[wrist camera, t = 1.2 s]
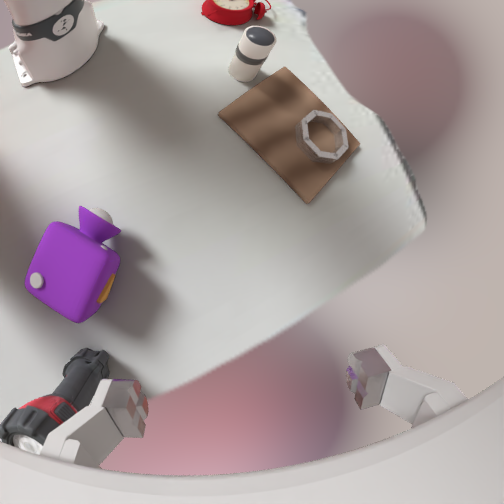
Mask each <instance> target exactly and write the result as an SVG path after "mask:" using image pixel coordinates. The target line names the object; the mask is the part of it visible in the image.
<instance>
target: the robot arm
mask: <svg viewBox="0 0 504 504" xmlns="http://www.w3.org/2000/svg"><path fill="white" fill-rule="evenodd" d="M4 2H5V4H6V6H7V8H8V10H9V12H10V14H11V16H12V18H13V20H12V24H13V29H14V31H13V33H14V37H15V41H14V43H12V44H11V45H10V46H9V50H10V52H11V54H12V56H13V60H14V63H15V66H16V70H17V73H18V76H19V79H20V82H21V84H22V86H24V87H25V86H29V85H31V84H34V83H36V82H49V81H54V80H57V79H60V78H63V77H65V76H67V75H69V74H71V73H73V72H74V71H76V70H77V69H79V68H80V67H81V66H82V65H83V64H85V63H86V62H87V61H88V60H89V58H90V57H91V56H92V55H93V53H94V52H95V50H96V48H97V45H98V37H99V34H100V33H101V31H102V30H103V28H104V24H103V22H102V21H100V20H97V19H96V17H95V14H94V10H93V6H92V3H91V2H88V1H85V0H4ZM25 76H26V77H25ZM348 363H349V364H350V366H349V367H348V368H347V370H346V381H347V385H348V387H349V389H350V391H351V392H353V393H355V401H356V402H357V404H358V406H359V408H360V409H361V410H362V409H366V408H369V407H372V406H376V405H379V404H380V406H382V407H384V408H385V409H387V410H389V411H391V412H392V413H394V414H395V415H397V416H399V417H401V418H402V419H404V420H405V421H407V422H409V423H411V424H412V427H411V429H410V430H407V431H404V432H402V433H400V434H397V435H395V436H392V437H389V438H387V439H384V440H382V441H379V442H376V443H373V444H370V445H367V446H365V447H361V448H358V449H355V450H352V451H349V452H345V453H342V454H338V455H335V456H331V457H327V458H323V459H319V460H315V461H311V462H306V463H301V464H297V465H292V466H286V467H281V468H275V469H268V470H261V471H253V472H245V473H233V474H220V475H198V476H197V475H194V476H177V475H174V476H173V475H151V474H138V473H127V472H119V471H111V470H105V469H102V468H101V467H100V466H99V465H100V464H101V463H102V462H103V461H104V459H105V458H106V457H107V456H108V455H109V454H110V453H111V452H112V451H113V450H114V448H115V447H116V446H117V445H118V444H119V443H120V442H121V441H122V440H123V437H133V438H143V436H144V431H145V423H144V421H143V420H144V419H145V418H147V416H148V402H147V399H146V396H145V395H144V394H143V393H142V392H140V390H141V385H140V383H139V381H138V380H126V379H102V380H101V381H100V383H99V385H98V388H97V390H96V393H95V395H94V397H93V400H92V402H91V405H90V406H86V407H85V408H83V409H82V410H81V411H79V412H78V413H76V414H75V415H74V416H72V417H71V418H70V419H68V420H67V421H65V422H64V423H63V424H61V425H60V426H59V427H57V428H56V429H54V430H53V431H52V432H50V433H49V434H48V436H47V438H46V440H45V443H44V445H43V447H42V450H41V452H40V455H38V454H35V453H31V452H28V451H25V450H22V449H19V448H17V447H14V446H11V445H8V444H6V443H3V442H1V441H0V504H504V377H503V378H501V379H500V380H498V381H497V382H495V383H494V384H492V385H491V386H489V387H488V388H486V389H485V390H483V391H482V392H480V393H478V394H477V395H475V396H474V397H472V398H470V399H468V398H467V397H466V396H465V395H464V394H463V393H462V392H461V390H460V389H459V388H458V387H457V386H456V385H455V384H454V383H453V382H451V381H448V380H445V379H442V378H439V377H436V376H434V375H431V374H428V373H425V372H422V371H419V370H417V369H414V368H411V367H409V366H405V367H404V366H403V365H402V364H401V363H400V362H399V360H398V359H397V358H396V357H395V356H394V354H393V353H392V352H391V351H390V350H389V349H388V347H387V346H386V345H384V344H382V345H378V346H375V347H372V348H368V349H365V350H361V351H357V352H353V353H350V354H349V356H348Z"/></svg>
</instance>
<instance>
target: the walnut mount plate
mask: <svg viewBox="0 0 504 504" xmlns="http://www.w3.org/2000/svg"><path fill="white" fill-rule="evenodd" d="M313 110H318V111H323V112H327V113H332V112H331V110H330V109H329V108H328V107H327V106H326V105H325V104H324V103H323V102H322V101H321V100H320V99H319V98H318V97H317V96H316V95H315V94H314V93H313V92H312V91H311V90H310V89H309V88H308V87H307V86H306V85H305V84H304V83H302V82H301V81H300V80H299V79H298V78H297V77H296V76H295V75H294V74H293V73H292V72H291V71H290V70H288V69H287V68H286V67H283V68H282V69H280V70H279V71H277V72H275V73H274V74H272V75H271V76H269V77H268V78H266V79H265V80H263V81H262V82H260V83H259V84H257V85H256V86H255V87H253V88H252V89H250V90H249V91H247V92H246V93H245V94H243V95H242V96H240V97H239V98H238V99H236V100H235V101H234V102H232V103H231V104H229V105H228V106H227V107H225V108H224V109H223V110H222V111H220V112H219V114H218V116H219V117H220V118H221V119H222V120H223V121H224V122H225V123H227V124H228V125H229V126H230V127H231V128H232V129H233V130H234V131H235V132H236V133H237V134H238V135H239V136H240V137H241V138H242V139H243V140H244V141H245V142H246V143H248V144H249V145H250V146H251V147H252V148H253V149H254V150H255V151H256V152H257V153H258V154H259V155H260V156H261V157H262V158H263V159H264V160H265V161H266V162H267V163H268V164H269V165H270V166H271V167H272V168H273V169H274V170H275V171H276V172H277V173H278V175H279V176H280V177H281V178H282V179H283V180H284V181H285V182H286V183H287V184H288V185H289V186H290V187H291V188H292V189H293V190H294V191H295V192H296V193H297V194H298V195H299V197H300V198H301V199H302V200H303V201H304V202H305V203H306V204H308V203H310V202H311V200H312V199H313V198H314V197H315V196H316V195H317V193H318V192H319V191H320V190H321V189H322V188H323V187H324V185H325V184H326V183H327V182H328V181H329V180H330V178H331V177H332V176H333V175H334V174H335V173H336V171H337V170H338V169H339V168H340V167H341V166H342V164H343V163H344V162H345V161H346V160H347V159H348V157H349V156H350V155H351V154H352V153H353V152H354V150H355V149H356V148H357V147H358V146H359V145H360V143H359V142H358V140H357V139H356V138H355V137H354V136H353V135H352V134H351V132H350V131H349V130H348V129H347V128H346V127H345V126H344V125H343V123H342V122H341V121H340V120H339V119H338V118H337V117H336V116H335V115H334V114H333V113H332V114H333V115H334V116H335V117H336V119H337V120H338V121H339V122H340V123H341V124H342V125H343V126H344V127H345V128H346V133H347V140H348V147H349V148H348V149H347V150H346V151H345V152H344V153H343V154H342V156H341V157H340V158H339V159H338V160H336V161H334V162H333V163H331V164H328V163H321V162H313V161H311V160H310V159H309V158H308V157H307V156H306V155H305V154H304V153H303V152H302V150H301V149H300V148H299V147H298V146H297V143H296V132H295V126H296V125H297V124H298V123H299V122H300V121H301V120H302V119H303V118H305V117H306V116H307V115H308V114H309V113H310V112H312V111H313ZM307 124H308V133H309V139H310V140H311V141H312V142H313V143H314V144H315V145H316V146H317V147H318V148H319V150H320V151H323V152H330V153H333V151H334V150H335V149H336V148H335V140H334V135H333V134H332V133H331V131H330V130H329V129H328V128H327V127H326V126H325V125H324V124H322V123H317V122H311V121H309V122H308V123H307Z"/></svg>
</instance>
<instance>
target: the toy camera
mask: <svg viewBox="0 0 504 504" xmlns="http://www.w3.org/2000/svg"><path fill="white" fill-rule="evenodd" d="M79 221H80V230H79V229H77V228H75V227H73V226H70V225H68V224H65V223H62V222H52V223H51V224H50V225H49V226H48V227H47V229H46V231H45V233H44V235H43V237H42V239H41V241H40V243H39V245H38V248H37V250H36V252H35V255H34V257H33V259H32V262H31V264H30V267H29V269H28V272H27V275H26V278H25V287H26V289H27V290H28V291H29V292H30V293H31V294H32V295H33V296H35V297H36V298H37V299H39V300H40V301H42V302H43V303H45V304H46V305H47V306H49V307H50V308H52V309H53V310H55V311H56V312H58V313H59V314H61V315H62V316H64V317H66V318H67V319H69V320H71V321H73V322H76V323H81V322H83V321H85V320H87V319H88V318H89V317H90V316H92V315H93V314H94V313H96V312H97V310H98V309H99V307H100V305H101V303H102V302H103V301H105V300H106V299H107V297H108V294H109V291H110V289H111V286H112V284H113V281H114V278H115V274H116V272H117V270H118V267H119V264H120V257H119V255H118V254H117V253H116V252H115V251H113V250H112V249H110V248H109V247H107V246H105V245H104V244H102V242H104V241H105V240H107V239H109V238H111V237H113V236H115V235H117V234H119V233H120V232H121V230H120V229H119V228H117V227H115V226H114V225H113V221H112V218H111V217H110V215H109V214H108V213H107V212H106V211H104V210H102V209H99V208H92V209H90V210H87V209H86V208H84V207H82V206H79Z"/></svg>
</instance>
